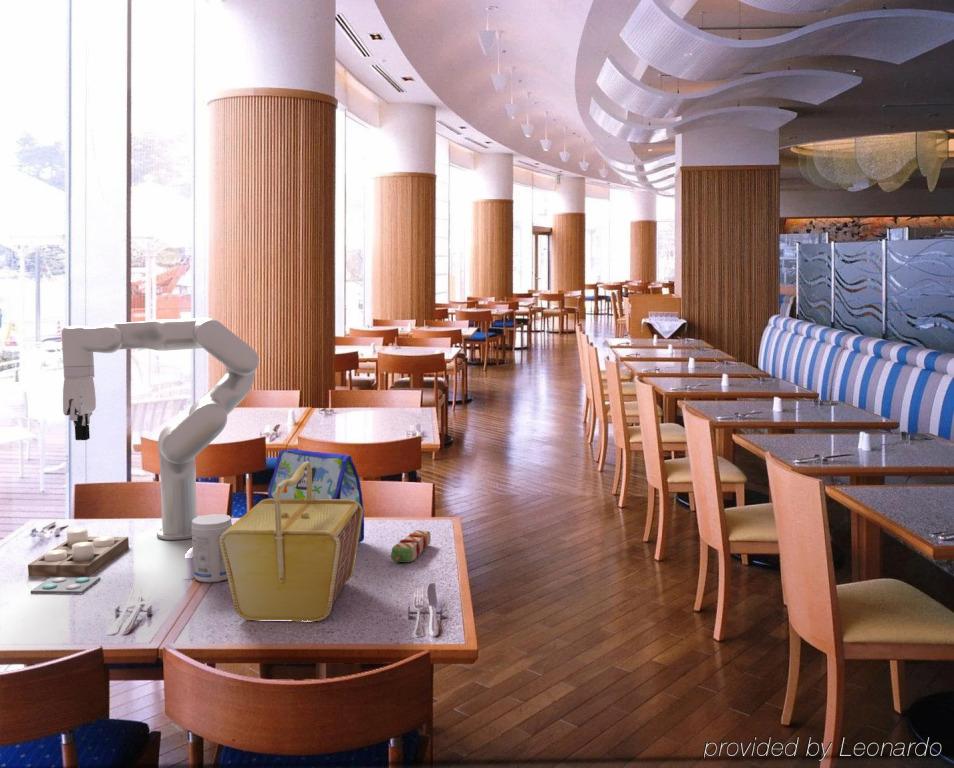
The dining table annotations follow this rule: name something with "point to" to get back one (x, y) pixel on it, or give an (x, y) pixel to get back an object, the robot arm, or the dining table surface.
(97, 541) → the button
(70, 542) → the button
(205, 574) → the supplement tub
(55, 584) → the tile
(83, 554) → the button
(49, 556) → the button
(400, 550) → the skewer
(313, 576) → the picnic basket
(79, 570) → the button box
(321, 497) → the lunch bag
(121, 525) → the dining table surface
